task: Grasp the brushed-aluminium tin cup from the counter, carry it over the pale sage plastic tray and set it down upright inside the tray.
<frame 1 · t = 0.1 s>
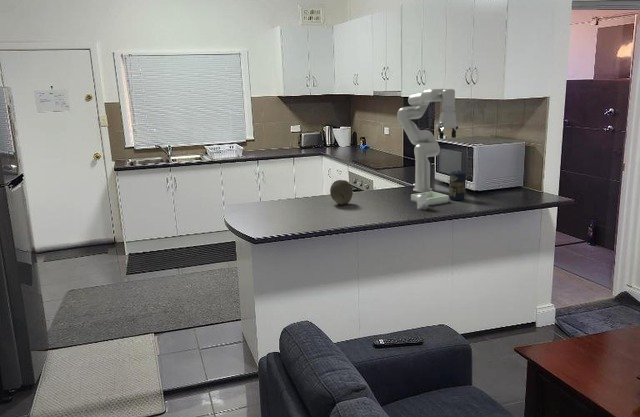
hand: (447, 138, 320), 37 cm above the worktop, tool pointing down, fingers open, 9 cm apart
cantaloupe: (341, 204, 317), on the worktop
canister: (456, 199, 320), on the worktop
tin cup: (422, 208, 300), on the worktop
tray: (429, 201, 317), on the worktop
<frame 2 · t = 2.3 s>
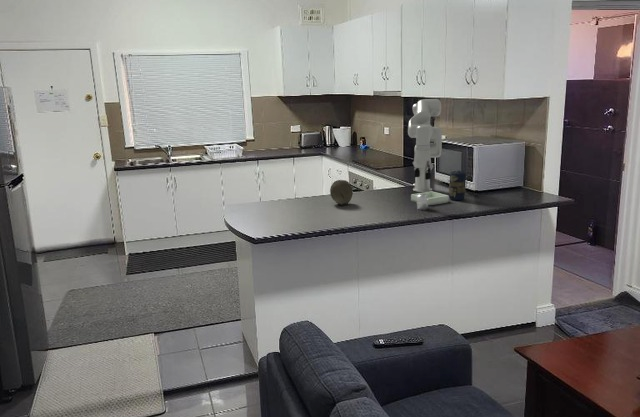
hand: (422, 178, 295), 18 cm above the worktop, tool pointing down, fingers open, 9 cm apart
nothing on the worktop moved.
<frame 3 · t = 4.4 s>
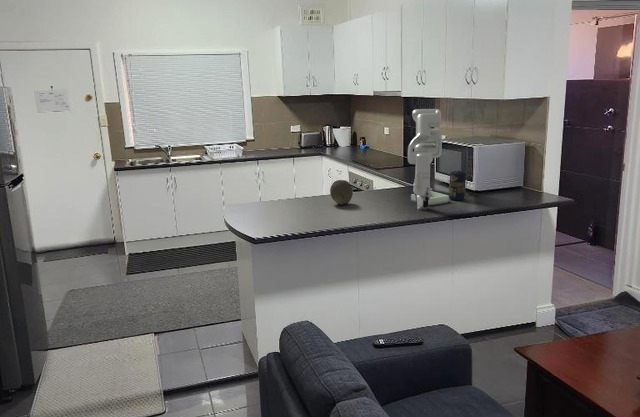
hand: (422, 205, 299), 2 cm above the worktop, tool pointing down, fingers closed on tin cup, 6 cm apart
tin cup: (422, 208, 300), on the worktop, touching gripper
everything else where it was.
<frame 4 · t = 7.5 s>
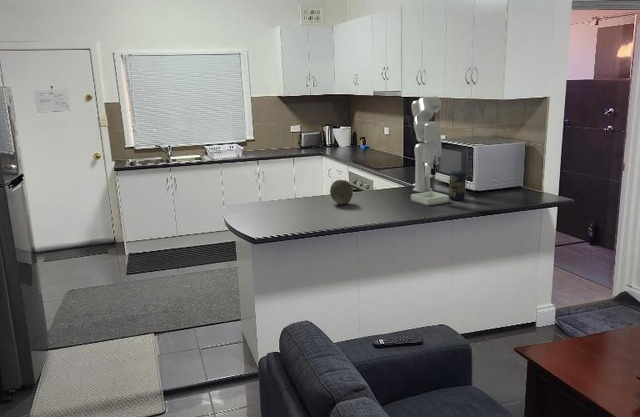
hand: (429, 173, 312), 17 cm above the worktop, tool pointing down, fingers closed on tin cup, 6 cm apart
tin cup: (429, 176, 313), point 16 cm above the worktop, touching gripper
everything else where it was.
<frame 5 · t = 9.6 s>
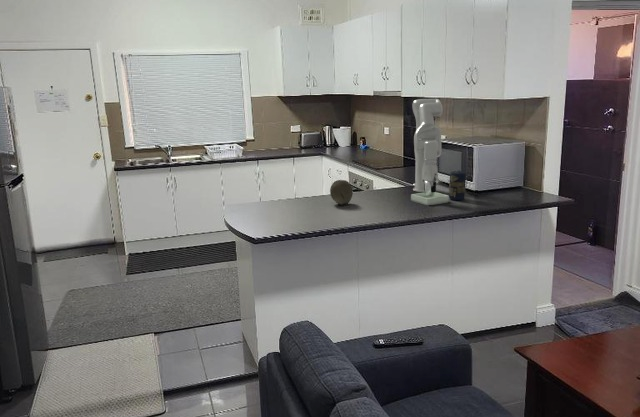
hand: (429, 191, 315), 6 cm above the worktop, tool pointing down, fingers closed on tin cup, 6 cm apart
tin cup: (429, 193, 315), point 5 cm above the worktop, touching gripper
everything else where it was.
when the fingers open (4 cm above the worktop, at t = 11.0 s): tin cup drops 1 cm, resting on tray.
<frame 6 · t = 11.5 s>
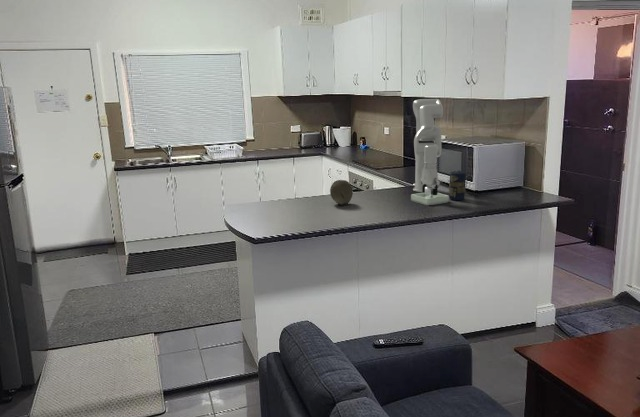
hand: (429, 193, 315), 5 cm above the worktop, tool pointing down, fingers open, 9 cm apart
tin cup: (429, 199, 316), point 1 cm above the worktop, touching tray
everything else where it was.
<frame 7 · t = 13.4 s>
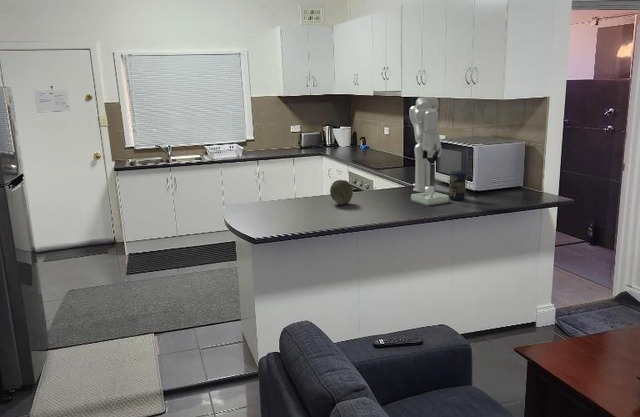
hand: (429, 159, 318), 24 cm above the worktop, tool pointing down, fingers open, 9 cm apart
nothing on the worktop moved.
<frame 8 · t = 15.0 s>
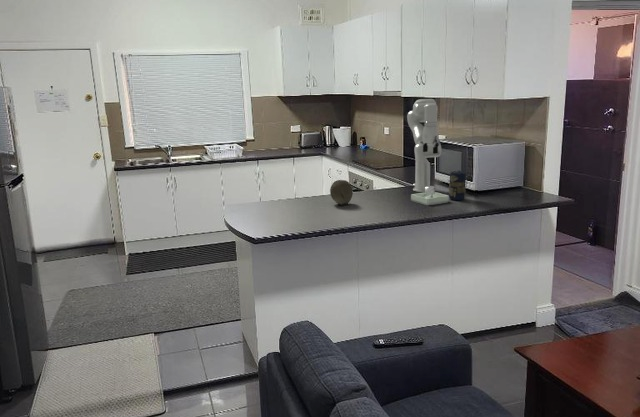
hand: (430, 152, 321), 28 cm above the worktop, tool pointing down, fingers open, 9 cm apart
nothing on the worktop moved.
at the end: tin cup inside the target area on the tray (0.1 cm from its centre), point 1.0 cm above the tray's base; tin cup tilted 0°; the gripper is holding nothing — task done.
